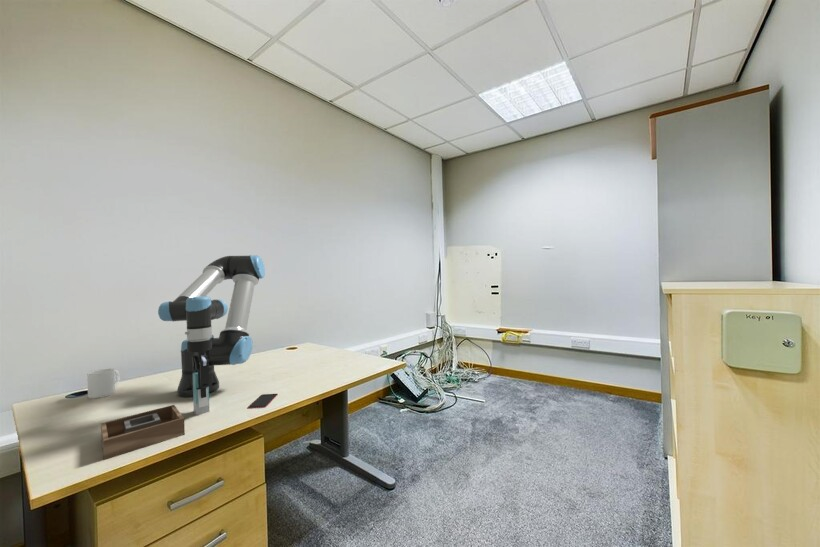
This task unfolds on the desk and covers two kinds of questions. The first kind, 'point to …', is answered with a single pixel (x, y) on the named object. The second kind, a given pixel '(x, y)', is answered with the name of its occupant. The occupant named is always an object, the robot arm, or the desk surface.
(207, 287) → the robot arm
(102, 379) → the cup
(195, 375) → the connector plug
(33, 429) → the desk surface
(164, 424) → the connector box
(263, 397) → the smartphone
